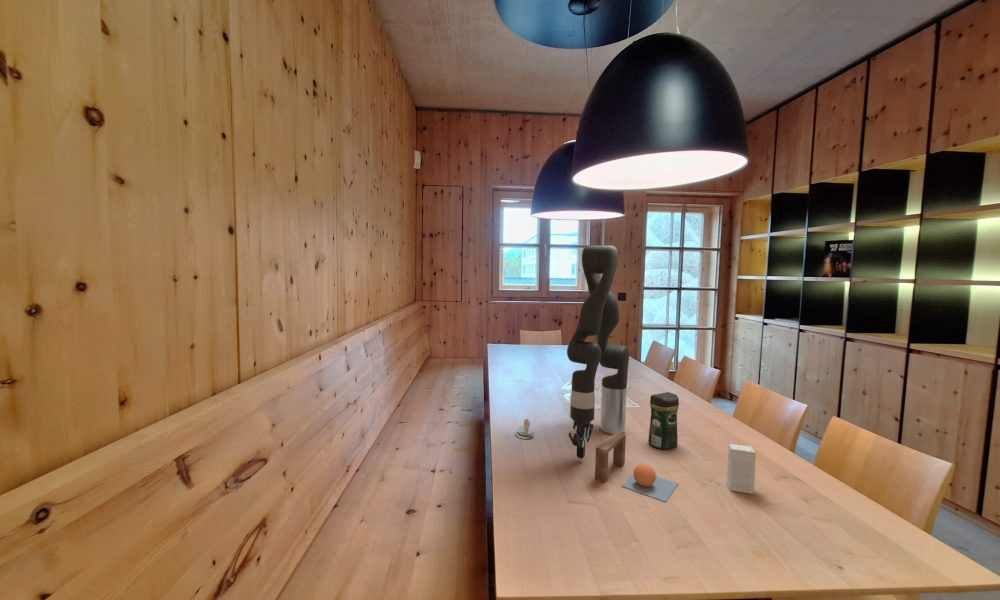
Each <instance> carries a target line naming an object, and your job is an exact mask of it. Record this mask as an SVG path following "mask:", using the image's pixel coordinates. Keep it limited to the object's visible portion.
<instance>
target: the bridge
mask: <svg viewBox="0 0 1000 600" xmlns="http://www.w3.org/2000/svg"><path fill="white" fill-rule="evenodd" d="M626 436H627V434H625V433H618V432H616V433H615V434H611V436H610V437H608V438H607V439H605V440H603V442H601V443H599V444H598V445H596V446H595V462H594V463H595V466H594V467H595V468H594V481H597V482H601V483H603V484H605V483H606V482H607V481H608V476H609V475H608V472H609V452H610V451H613V453H612V454H613V455H612V464H613V465H616V466H618V465H619V467H624V466H625V465H626V463H625V461H626V438H627V437H626ZM624 464H625V465H624Z"/></svg>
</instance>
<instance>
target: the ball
mask: <svg viewBox="0 0 1000 600" xmlns="http://www.w3.org/2000/svg"><path fill="white" fill-rule="evenodd" d="M633 474H634V478H635V480H636V482H637V483H638V484H639V485H641V486H644V487H649V486H651V485H653V484H654V482H655V480H656V477H657V475H656V471H655V469H654V468H653V467H652V466H651V465H649V464H646V463H640V464H638V465H636V467H635V468H634V470H633Z"/></svg>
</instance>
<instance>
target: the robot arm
mask: <svg viewBox="0 0 1000 600" xmlns="http://www.w3.org/2000/svg"><path fill="white" fill-rule="evenodd" d="M618 263H619V253H618V248H616V246H614V245H588V246H585V247H584V248H583V250H582V253H581V264H582V265H581V266H582V269H583V273H584V277H585V281H586V284H587V289H588V293H589V295H588V296H587V298H586V299H585V300H584V302H583V304H582V305H581V308H580V311H579V318H578V321H577V327H576V328H575V331H574V333H573V334H572V337H571V339H570V340H569V343H568V346H567V350H566V354H567V358H568V360H569V361H570V362H572V363H575V364H581V365H586V367H585V369H579V370H575V371H573V372H572V375H571V392H570V405H569V406H570V407H569V408H570V409H569V410H570V411H569V416H570V419H571V420H572V421H573V425H572V429H573V431H572V432H569V433H568V437H569V439H570V442H571V443H572V445H573V447H576V457H577V458H579V459H584V458H585V457H586V446H587V444H588V443H589V442H590V439H591V437H592V436H591V435H592V433H593V429H594V428H595V427H594V426H595V425H594V424H592V423H591V422H592V421H594V420H595V408H596V407H595V403H596V402H595V400H596V399H595V398H596V397H595V395H596V394H595V381H596V380H595V379H596V375H597V371H598V367H599V365H600V366H601V367H602V368H606V369H610V370H611V369H612V370H617V372H616V373H615V374H611V375H606V376H604V377H602V379H601V398H600V399H601V402H600V427H599V429H600V430H601V431H602V432H603V433H606V434H610V435H613V434H615V433H616V432H618V433H622V434H625V432H626V418H627V417H626V415H627V414H626V413H627V394H628V393H627V390H628V388H627V387H628V377H629V376H628V374H629V372H628V371H629V361H630V350H629V348H628V347H627V345H623V344H611V343H609V342H608V341H609V340H608V339H609V337H610V336H611V334H612V332H614V329H616V327H617V326H618V323H619V322H620V311H619V310H620V309H619V303H618V300H617V298H616V297H615V296H614V294H613V293H612V292H611V291H610V290H611V287H612V284H613V282H614V281H613V280H614V277H615V275H616V272H617V267H618ZM600 275H601V277H600ZM593 336H596V342H592V341H585V340H586V339H587V338H588V337H589V338H590V337H593Z"/></svg>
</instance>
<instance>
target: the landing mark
mask: <svg viewBox="0 0 1000 600" xmlns="http://www.w3.org/2000/svg"><path fill="white" fill-rule="evenodd" d="M677 485H678V486H679V483H677V482H674V481H672V480H669V479H666V478H662V477H658V476H656V480H655V482H654V484H653V485H651V486H649V487H644V486H641V485H639V484H638V483H637V482H636V480H635V478H634V473H633V474H632V475H631V476H630V477H629V478H628V479H627V480H626V481H625V482H624V483H623V484H621V488H624V489H627V490H630V491H632V492H635V491H636V492H637V493H639V494H641V495H644V496H646V497H650V498H653V499H654V500H655V499H656V500H658V501H661V502H663V503H666V502H667V501H668V500H669V498H671V495H672V494H673V493H674V491H675V490H676V489H677V487H678V486H677Z"/></svg>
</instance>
